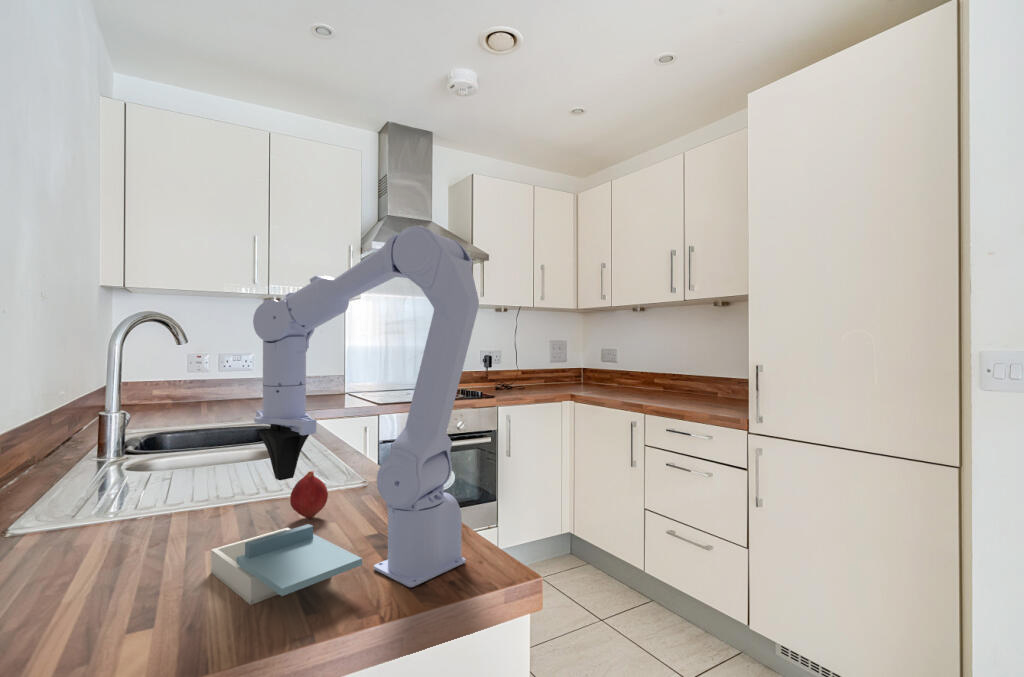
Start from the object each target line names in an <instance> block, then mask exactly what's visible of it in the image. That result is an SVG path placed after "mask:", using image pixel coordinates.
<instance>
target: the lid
mask: <svg viewBox="0 0 1024 677" xmlns="http://www.w3.org/2000/svg"><path fill="white" fill-rule="evenodd" d="M237 564H238V565H239V566H240V567H242V568H243V569H245V570H246V571H247V572H249V573H250V574H252V575H253V576H254V577H256V578H257V579H258V580H260V581H261V582H263V583H264V584H265V585H267V586H268V587H270V588H271V589H272V590H274V591H275V592H277V593H278V595H279V596H281V597H284V596H287V595H288V594H292V593H295V592H297V591H299V590H302V589H305V588H307V587H309V586H312V585H314V584H318V583H319V582H322V581H324V580H327V579H330V578H333V577H335V576H338V575H340V574H343V573H345V572H347V571H351V570H353V569H356V568H358V567H360V566H363V558H362V557H360V556H358V555H356V554H354V553H352V552H350V551H349V550H346V549H344V548H343V547H340V546H339V545H336V544H335V543H332V542H331V541H328V540H327V539H324V538H323V537H320V536H318V535H317V534H314V525H313V524H309V523H307V524H304V525H301V526H297V527H294V528H290V530H286V531H283V532H280V533H276V534H273V535H269V536H266V537H262V538H259V539H256V540H252V541H249V542H245V555H242V556H239V557H237Z"/></svg>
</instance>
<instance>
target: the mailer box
mask: <svg viewBox="0 0 1024 677" xmlns="http://www.w3.org/2000/svg"><path fill="white" fill-rule="evenodd" d="M290 529H291V528H290V527H285V528H281V529H278V530H274V531H271V532H268V533H264V534H261V535H258V536H253V537H250V538H245V539H243V540H240V541H236V542H233V543H229V544H226V545H223V546H219V547H215V548H212V549H210V560H211V561H210V574H212V575H213V576H215V577H216V578H217V580H220V582H221V583H223V584H224V585H226V586H227V587H228V588H229V589H230V590H232V591H233V592H234V593H236V594H237V595H238V596H239V597H240V598H242V599H243V600H244V601H245V602H246V603H247V604H249V605H251V606H252V605H254V604H257V603H260V602H262V601H265V600H268V599H270V598H273V597H275V596H278V595H279V594H278V593H277V592H275V591H274V590H272V589H271V588H270V587H268V586H267V585H265V584H264V583H263V582H261V581H260V580H258V579H257V578H256V577H254V576H253V575H252V574H250V573H249V572H247V571H246V570H245V569H243V568H242V567H240V566H239V565H238V564H237V557H239V556H242V555H245V542H249V541H252V540H256V539H259V538H262V537H266V536H269V535H273V534H276V533H280V532H283V531H286V530H290Z"/></svg>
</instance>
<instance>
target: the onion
mask: <svg viewBox="0 0 1024 677" xmlns="http://www.w3.org/2000/svg"><path fill="white" fill-rule="evenodd" d="M289 496H290V497H289V503H290V506H291V508H292V510H294V511H295V512H296V513H297V514H298V515H299V516H302V517H304V518H305V519H307V520H310V519H311V520H312V519H313V518H314V517H315V516H316V515H317V514H319V512H320V511H321V510H323V508H325V506H326V503H327V501H328V497H329V492H328V488H327V485H326V484H325V483H324V482H323V481H322V480H321V479H320V478H318V477H316V476H315V473H314V470H310V471H307V473H306V474H305V475H303V477H301V478H300V479H298V481H297V482H296V484H295V485H294V487H293V488H292V490H291V493H290V495H289Z"/></svg>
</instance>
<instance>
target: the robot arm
mask: <svg viewBox="0 0 1024 677" xmlns="http://www.w3.org/2000/svg"><path fill="white" fill-rule="evenodd" d="M473 264H474V259H473V258H472V257H471V256H470V254H469V252H467V250H466V249H465V247H464V246H463V245H462V244H461V243H460V242H459V241H458V240H455V239H452V238H448V237H445V236H444V235H442V234H439V233H437V232H436V233H435V232H434V231H432V230H431V229H429V228H427V227H425V226H422V225H412V226H409V227H406V228H404V229H403V230H402V231H401V232H400V233H399V234H397V233H396V234H394V235H391V236H389V237H388V238H387V240H386V241H385V243H384V244H383V245H382V246H381V247H380V248H379V249H377V250H375V251H374V252H372V253H371V254H370V255H368V256H366V257H365V258H364V259H363V260H361V261H360V262H358V263H356V264H355V265H353V266H351V267H350V268H349V269H348V270H346V271H345V272H343V273H341V274H339V276H337V277H336V278H335V277H332V276H327V275H324V276H323V275H322V276H319V275H314V276H313V277H311V278H309V282H310V283H309V284H306V285H305V286H303V287H302V288H300V289H298V290H296V291H295V292H288V293H287V294H286V295H285V298H283V299H281V300H276V299H266V300H264V301H263V302H262V303H261V304H259V306H257V308H256V309H255V311H254V315H253V317H252V318H253V319H252V322H253V323H252V324H253V329H254V331H255V334H256V335H257V336H258V337H259V339H261V340H262V385H263V386H262V410H256V411H255V417H253V420H254V421H253V422H254V423H255V424H259V425H261V424H262V425H263V424H265V425H268V426H269V428H268V429H266V430H260V431H259V432H258V433H259V434H258V435H259V437H260V439H261V440H262V442H263V444H264V446H265V447H266V451H267V452H268V456H269V459H270V463H271V467H272V471H273V476H274V478H275V480H276V481H277V480H278V481H283V480H289V479H293V478H294V476H295V473H296V468H297V465H298V461H299V457H300V454H301V452H302V449H303V447H304V445H305V442H306V441H307V439H308V438H309V436H310V435H315V434H317V419H315V418H312V417H311V416H310V415H309V414H308V413H307V352H308V349H309V348H310V347H309V346H310V339H311V337H312V336H313V334H314V332H315V330H316V329H317V328H318V327H320V326H322V325H323V324H324V325H325V324H326V323H327V322H330V321H331V320H332V319H334V318H336V317H338V316H340V315H341V314H343V313H346V311H347V310H348V308H349V304H350V300H352V299H353V298H356V297H357V296H360V295H361V294H363V293H365V292H367V291H370V290H372V289H374V288H376V287H378V286H380V285H382V284H385V283H386V282H389V281H391V280H393V279H395V278H402V279H403V278H405V279H408V280H410V281H411V282H412V283H413V284H415V285H416V286H418V287H419V288H420V290H421V291H422V292H423V293H424V295H425V296H426V298H427V300H428V301H429V302H430V304H431V306H432V307H433V313H432V317H431V320H430V321H431V322H430V326H429V328H428V329H429V330H428V333H427V334H428V335H427V338H426V341H425V342H426V343H425V346H424V350H423V355H422V358H421V363H420V366H419V371H418V374H417V378H416V382H415V386H414V390H413V395H412V399H411V403H410V407H409V411H408V415H407V419H406V423H405V426H404V428H403V429H402V431H401V432H400V434H398V436H397V437H396V439H395V440H394V441H393V443H392V444H391V446H390V449H389V453H388V456H387V458H386V459H385V461H384V462H383V463H381V465H380V467H379V469H378V471H377V473H376V485H377V489H378V493H379V495H380V496H381V498H382V499H383V501H384V502H386V506H385V507H386V508H387V559H385V560H383V561H380V562H378V563H375V564H374V565H373V569H374V570H375V571H377V572H379V573H381V574H382V575H384V576H387V577H389V578H390V579H392V580H394V581H395V582H398V583H400V584H402V585H404V586H406V587H407V588H413V587H416V586H418V585H421V584H422V583H424V582H427V581H429V580H431V579H433V578H435V577H437V576H440V575H441V574H444V573H446V572H448V571H450V570H452V569H455V568H456V567H459V566H461V565H463V564H465V563H466V561H467V560H466V557H463V556H462V532H463V531H462V530H463V528H462V522H463V521H462V517H463V516H462V511H461V507H460V504H459V503H458V502H459V501H458V500H457V499H456V498H455V497H454V496H453V495H452V494H450V493H449V492H444V490H445V488H444V485H446V483H447V482H448V481H449V480H450V477H451V475H452V472H453V463H452V458H451V450H452V446H453V441H452V440H451V438H450V437H449V435H448V428H449V424H450V420H451V417H452V413H453V409H454V404H455V400H456V396H457V392H458V388H459V385H460V381H461V378H462V373H463V369H464V365H465V362H466V357H467V353H468V349H469V346H470V343H471V338H472V334H473V330H474V325H475V322H476V320H477V319H476V318H477V315H478V314H477V313H478V311H479V303H480V301H479V295H478V292H477V291H478V290H477V287H476V283H475V279H474V274H473V270H472V268H473Z"/></svg>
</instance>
